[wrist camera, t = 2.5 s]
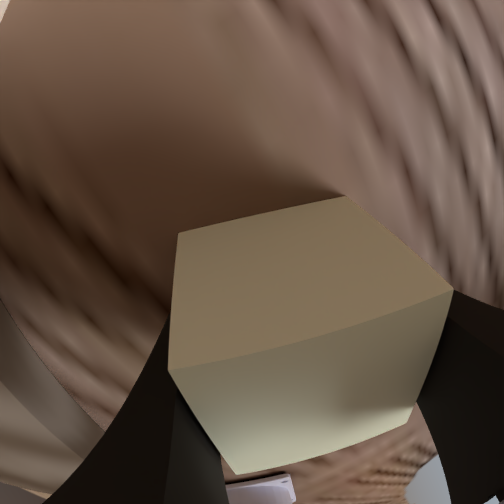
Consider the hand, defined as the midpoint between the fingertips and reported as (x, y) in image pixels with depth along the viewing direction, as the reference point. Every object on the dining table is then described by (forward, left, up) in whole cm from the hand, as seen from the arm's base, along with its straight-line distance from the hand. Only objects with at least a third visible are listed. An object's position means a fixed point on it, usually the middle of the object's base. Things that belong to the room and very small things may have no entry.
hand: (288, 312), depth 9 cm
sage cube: (0, 0, -2) cm, 2 cm away
